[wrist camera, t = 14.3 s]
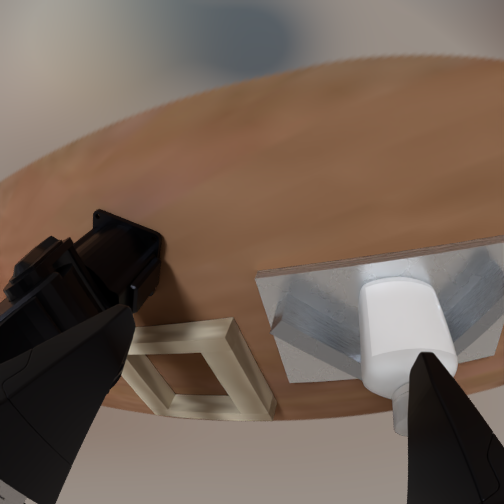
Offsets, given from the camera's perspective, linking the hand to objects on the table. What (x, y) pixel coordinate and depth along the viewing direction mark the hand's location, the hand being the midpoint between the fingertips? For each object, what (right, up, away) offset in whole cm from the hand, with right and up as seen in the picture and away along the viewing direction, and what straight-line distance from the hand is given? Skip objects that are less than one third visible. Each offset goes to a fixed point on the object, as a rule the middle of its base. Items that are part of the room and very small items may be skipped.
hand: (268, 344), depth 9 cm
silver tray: (+11, -3, +14) cm, 18 cm away
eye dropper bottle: (+10, 0, +12) cm, 16 cm away
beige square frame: (-7, -10, +23) cm, 26 cm away
